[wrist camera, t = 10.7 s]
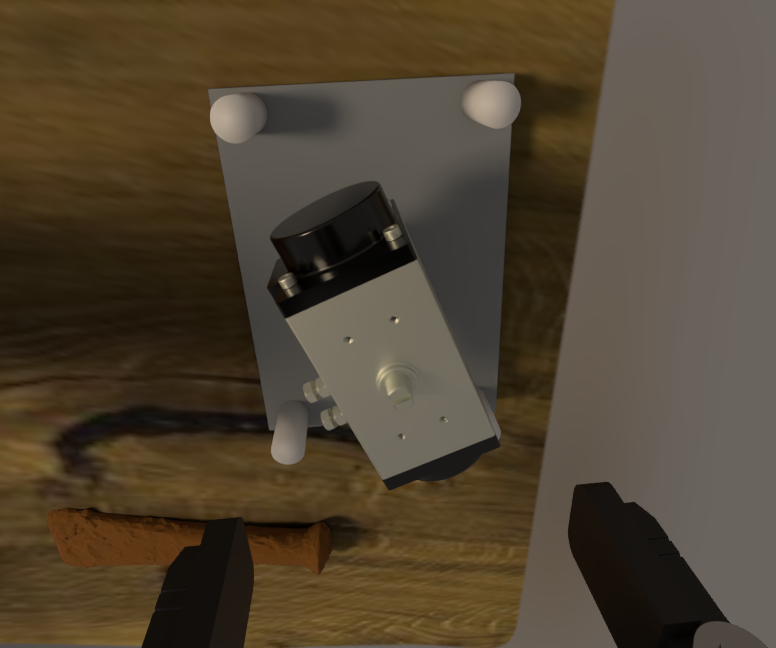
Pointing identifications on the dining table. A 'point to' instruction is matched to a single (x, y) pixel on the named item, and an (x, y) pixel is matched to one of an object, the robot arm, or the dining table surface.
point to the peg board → (399, 182)
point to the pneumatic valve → (378, 337)
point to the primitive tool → (174, 540)
